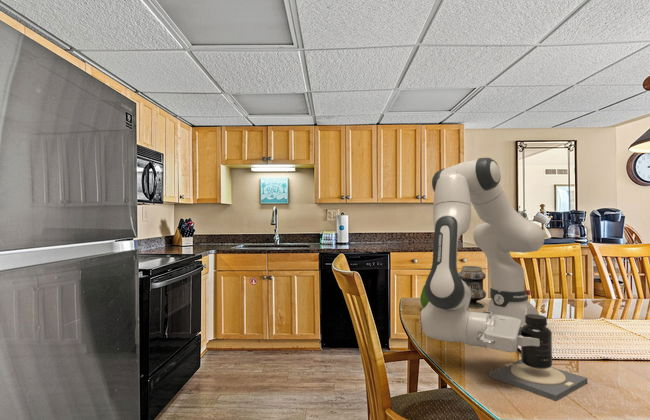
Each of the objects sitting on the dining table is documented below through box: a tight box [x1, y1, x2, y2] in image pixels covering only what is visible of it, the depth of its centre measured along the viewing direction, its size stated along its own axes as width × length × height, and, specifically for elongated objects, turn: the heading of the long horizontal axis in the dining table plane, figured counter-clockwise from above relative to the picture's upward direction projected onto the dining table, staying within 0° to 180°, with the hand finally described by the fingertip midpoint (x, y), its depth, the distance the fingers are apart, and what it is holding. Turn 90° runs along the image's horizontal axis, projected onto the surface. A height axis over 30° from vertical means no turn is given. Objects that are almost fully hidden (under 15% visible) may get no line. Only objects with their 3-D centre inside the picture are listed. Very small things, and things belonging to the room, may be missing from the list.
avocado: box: [420, 284, 429, 309], centre depth 168 cm, size 8×8×12 cm
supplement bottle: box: [520, 314, 553, 369], centre depth 97 cm, size 7×7×12 cm
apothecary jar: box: [458, 265, 487, 309], centre depth 177 cm, size 12×12×18 cm
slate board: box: [489, 359, 588, 402], centre depth 97 cm, size 16×16×2 cm
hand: (540, 337), depth 96 cm, fingers closed on supplement bottle, 7 cm apart
